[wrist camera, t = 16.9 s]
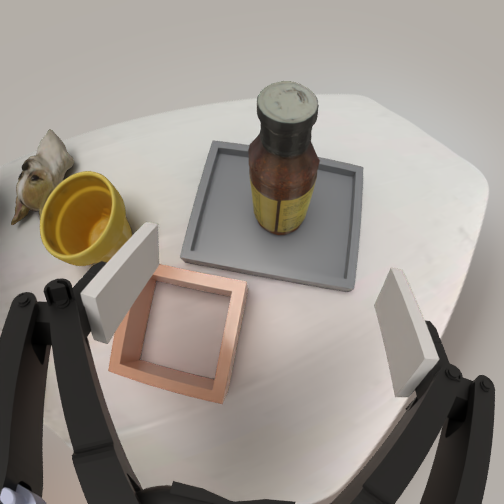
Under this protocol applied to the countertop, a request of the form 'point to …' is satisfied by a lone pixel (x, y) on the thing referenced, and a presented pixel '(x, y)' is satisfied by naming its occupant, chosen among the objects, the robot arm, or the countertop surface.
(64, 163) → the ceramic sculpture
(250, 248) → the grey tray
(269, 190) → the sauce bottle
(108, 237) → the plant pot
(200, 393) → the terracotta holder
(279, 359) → the countertop surface
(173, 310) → the countertop surface
